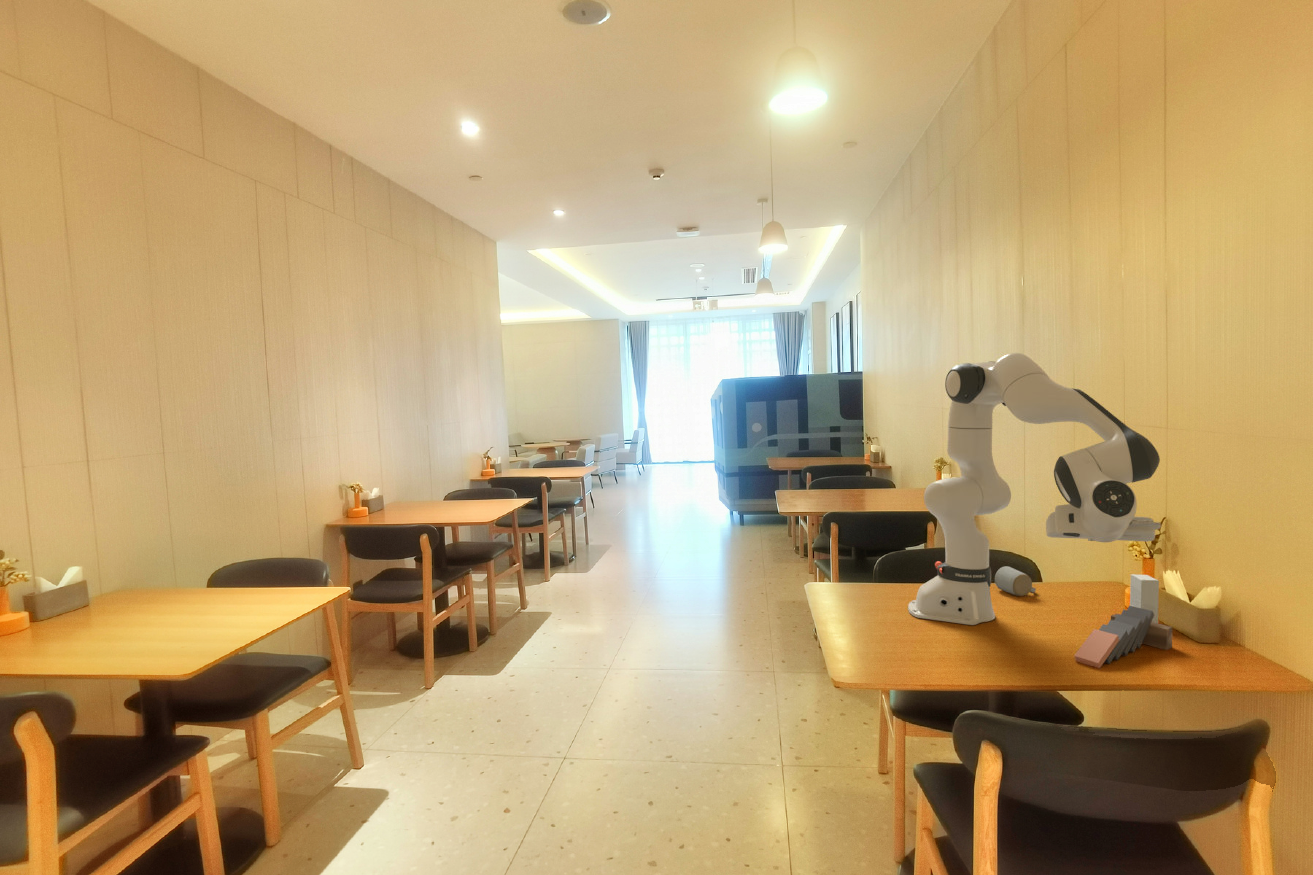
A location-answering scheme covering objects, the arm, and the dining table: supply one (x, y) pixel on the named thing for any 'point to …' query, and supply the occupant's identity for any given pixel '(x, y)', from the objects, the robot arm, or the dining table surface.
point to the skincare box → (1145, 593)
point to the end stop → (1157, 635)
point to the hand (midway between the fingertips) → (1094, 537)
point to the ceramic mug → (1013, 581)
